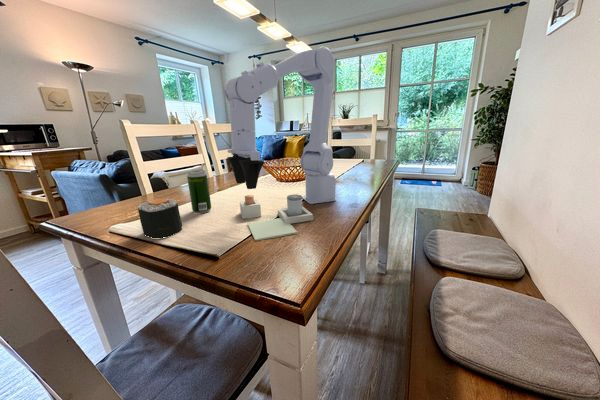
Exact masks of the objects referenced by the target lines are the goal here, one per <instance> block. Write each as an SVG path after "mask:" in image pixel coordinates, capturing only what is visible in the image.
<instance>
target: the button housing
mask: <svg viewBox="0 0 600 400" xmlns="http://www.w3.org/2000/svg"><path fill="white" fill-rule="evenodd" d="M239 209H240V210H239V211H240V214H241V217H242V219H250V218H258V217H259V218H260V217H262V210H261V209H262V208H261V203H260V202H259V201H258V199H254V204H251V205H245V200H242V201H241V200H240V201H239Z"/></svg>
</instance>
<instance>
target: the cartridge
mask: <svg viewBox="0 0 600 400" xmlns="http://www.w3.org/2000/svg"><path fill="white" fill-rule="evenodd" d="M302 196H303V195H301V194H295V193H293V194H288V195H287V196H286V200H287V201H286V205H287V207H286V208H287V211H288V214H287V216H288V217H292V216H298V215H303V214H302V206H303V198H302Z"/></svg>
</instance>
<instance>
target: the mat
mask: <svg viewBox="0 0 600 400" xmlns="http://www.w3.org/2000/svg"><path fill="white" fill-rule="evenodd" d="M247 225H248V229H249V230H250V233H251V234H252V237H253V239H254V241H255V242H257V241H263V240H268V239H273V238H279V237H284V236H285V237H286V236H291V235H295V234H298V231H297V230H296V229H295V227H294V226H293V225H292V223H291V224H290V223H289V222H288V223H286V222H285V221H284V220H283V219H282V218H280V217H279V218H272V219H265V220H261V221H254V222H252V221H251V222H247Z"/></svg>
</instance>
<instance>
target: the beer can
mask: <svg viewBox="0 0 600 400" xmlns="http://www.w3.org/2000/svg"><path fill="white" fill-rule="evenodd" d="M186 174H187V175H186V179H187V185H188V190H189V191H188V192H189V197H190V203H191V210H192V212H193V214H200V215H201V214H205V213H209V212H211V211H212V201H211V195H210V188H209V179H208V174H207V171H206V170H204V169H203V170H202V169H195V170H190V171H187V172H186Z"/></svg>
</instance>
